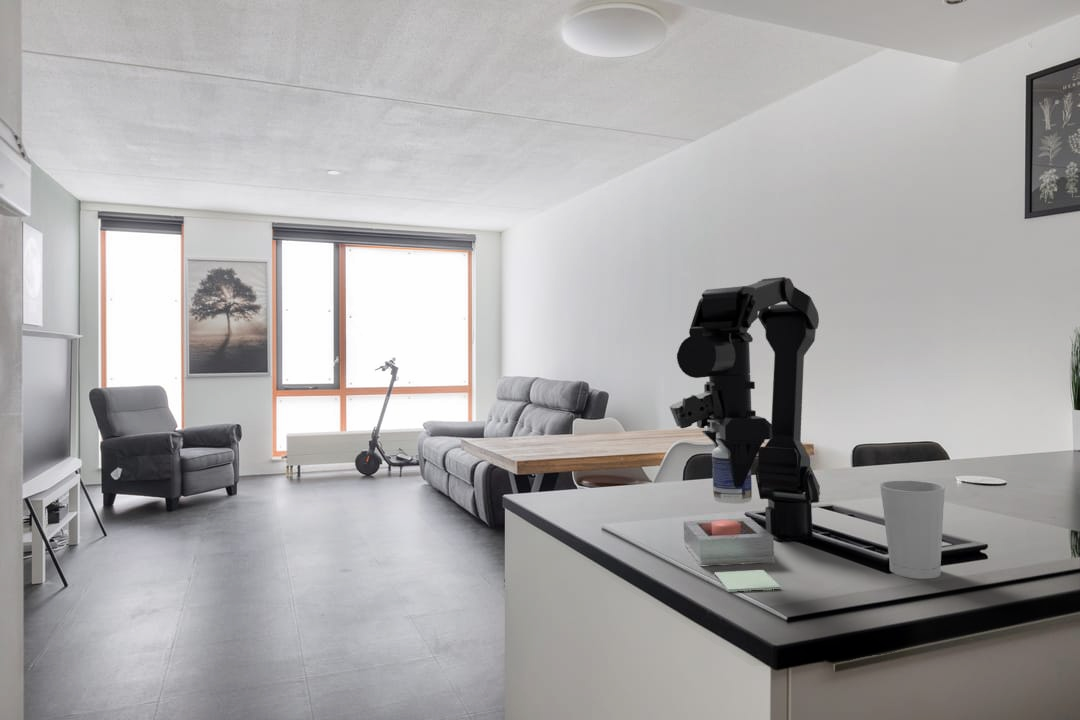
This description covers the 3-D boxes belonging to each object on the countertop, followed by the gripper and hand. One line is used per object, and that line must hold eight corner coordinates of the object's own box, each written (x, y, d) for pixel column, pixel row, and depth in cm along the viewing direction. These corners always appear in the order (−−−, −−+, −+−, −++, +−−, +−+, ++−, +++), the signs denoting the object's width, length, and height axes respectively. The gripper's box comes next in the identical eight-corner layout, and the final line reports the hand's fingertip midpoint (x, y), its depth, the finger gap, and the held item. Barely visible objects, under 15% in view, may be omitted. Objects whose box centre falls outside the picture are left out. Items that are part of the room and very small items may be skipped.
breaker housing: (751, 542, 115) (750, 518, 115) (774, 562, 104) (773, 536, 104) (684, 545, 115) (683, 521, 115) (700, 566, 104) (699, 539, 104)
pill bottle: (753, 504, 98) (751, 435, 98) (713, 504, 99) (711, 435, 99) (750, 496, 103) (748, 430, 103) (713, 496, 104) (711, 431, 104)
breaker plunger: (736, 540, 112) (735, 519, 112) (745, 548, 108) (744, 526, 108) (709, 541, 112) (708, 521, 112) (716, 549, 108) (715, 528, 107)
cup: (871, 564, 102) (868, 482, 101) (923, 560, 102) (921, 478, 102) (904, 582, 94) (901, 493, 94) (961, 578, 94) (958, 489, 94)
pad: (763, 572, 100) (763, 569, 100) (780, 589, 93) (780, 586, 93) (714, 575, 100) (714, 572, 100) (728, 592, 93) (728, 589, 93)
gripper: (662, 374, 110) (666, 473, 110) (686, 379, 92) (690, 498, 92) (733, 372, 110) (737, 471, 110) (771, 376, 91) (775, 495, 92)
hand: (733, 482), depth 101 cm, fingers closed on pill bottle, 5 cm apart
